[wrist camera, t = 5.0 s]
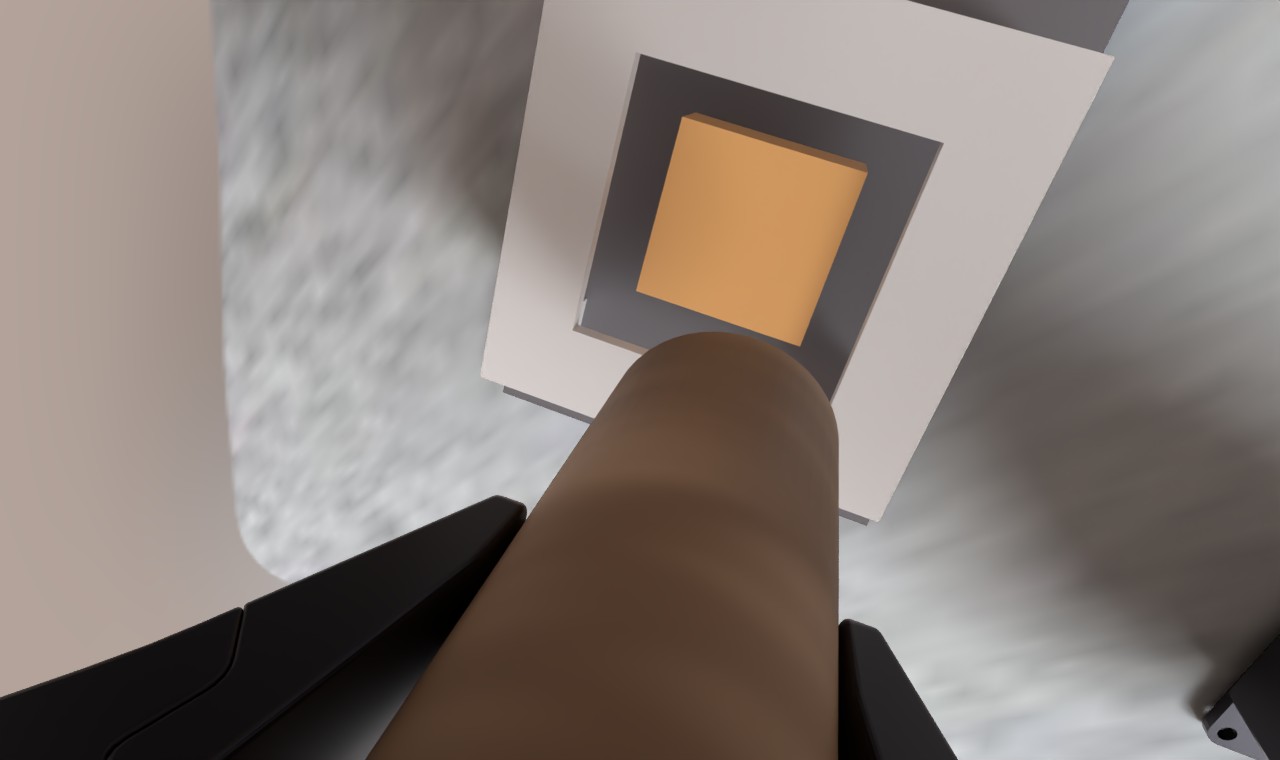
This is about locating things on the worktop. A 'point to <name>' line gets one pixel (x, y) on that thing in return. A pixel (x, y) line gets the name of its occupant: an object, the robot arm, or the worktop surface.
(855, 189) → the orange square block
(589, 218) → the white mini table
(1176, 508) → the worktop surface
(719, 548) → the walnut cylinder
